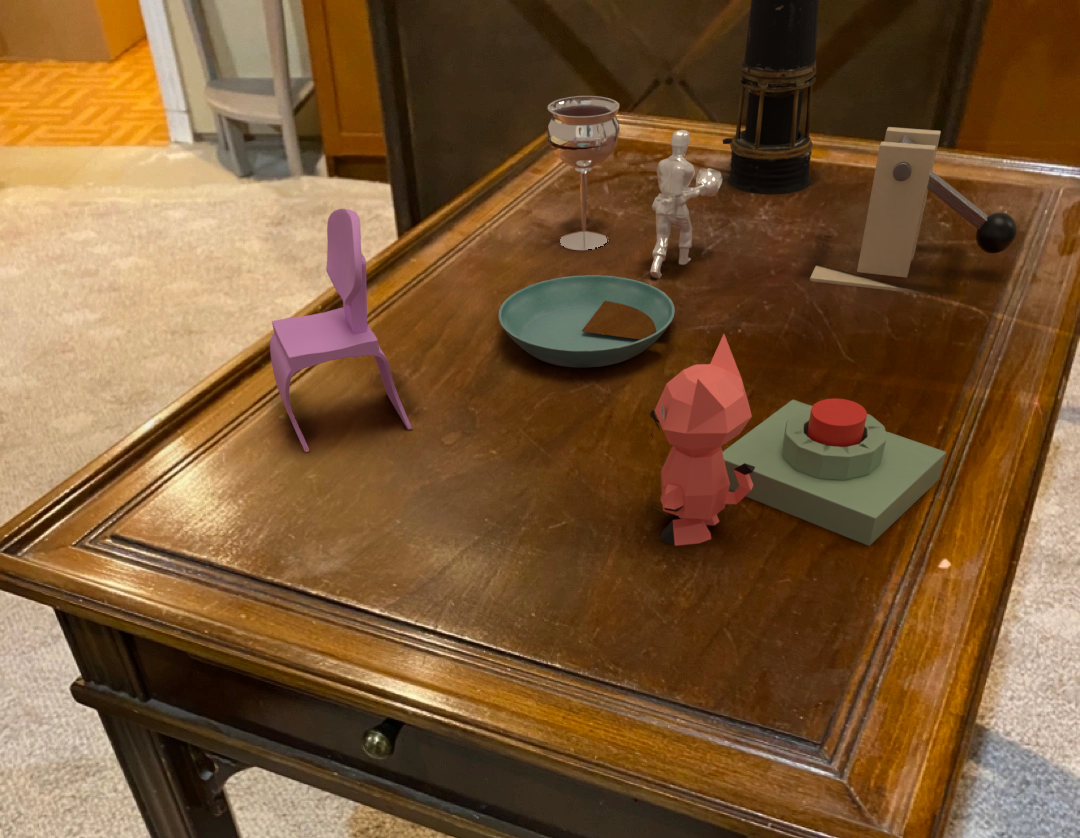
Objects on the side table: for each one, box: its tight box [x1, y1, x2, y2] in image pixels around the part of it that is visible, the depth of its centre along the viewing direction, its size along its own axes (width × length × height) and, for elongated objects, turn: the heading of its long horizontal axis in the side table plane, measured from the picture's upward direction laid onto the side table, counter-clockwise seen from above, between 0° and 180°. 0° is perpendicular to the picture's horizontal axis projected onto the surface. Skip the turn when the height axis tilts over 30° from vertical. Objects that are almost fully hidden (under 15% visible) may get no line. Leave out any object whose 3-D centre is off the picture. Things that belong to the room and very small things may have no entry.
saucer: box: [497, 274, 676, 369], centre depth 89 cm, size 15×15×3 cm
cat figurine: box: [649, 333, 755, 546], centre depth 65 cm, size 7×7×12 cm
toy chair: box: [269, 208, 413, 452], centre depth 76 cm, size 8×9×15 cm
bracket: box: [809, 126, 942, 296], centre depth 92 cm, size 12×9×12 cm
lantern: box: [722, 0, 820, 196], centre depth 103 cm, size 9×9×30 cm
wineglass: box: [546, 95, 621, 251], centre depth 101 cm, size 7×7×12 cm
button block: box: [722, 399, 947, 547], centre depth 72 cm, size 12×10×4 cm
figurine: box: [649, 129, 723, 279], centre depth 95 cm, size 5×9×12 cm, turn 154°
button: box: [807, 398, 868, 447], centre depth 70 cm, size 4×4×2 cm
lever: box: [898, 135, 1018, 254], centre depth 90 cm, size 13×3×3 cm, turn 70°
